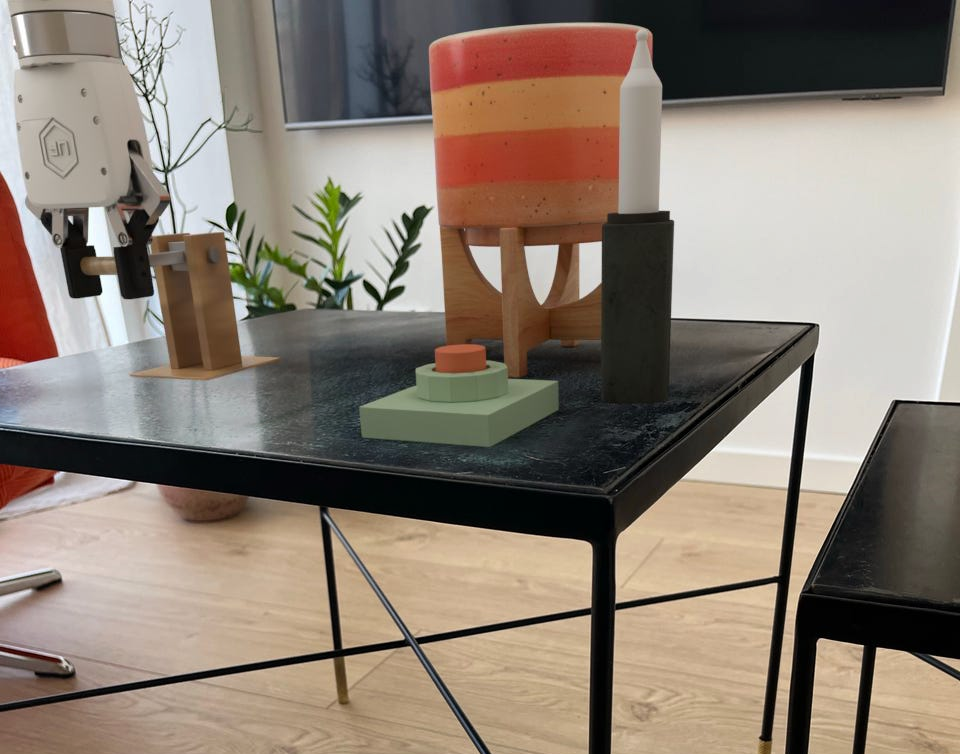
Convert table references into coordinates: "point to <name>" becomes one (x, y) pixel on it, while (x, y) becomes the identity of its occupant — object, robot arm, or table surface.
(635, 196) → the candle
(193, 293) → the bracket
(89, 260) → the lever
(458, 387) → the button box
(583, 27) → the planter
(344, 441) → the table surface
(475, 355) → the button
